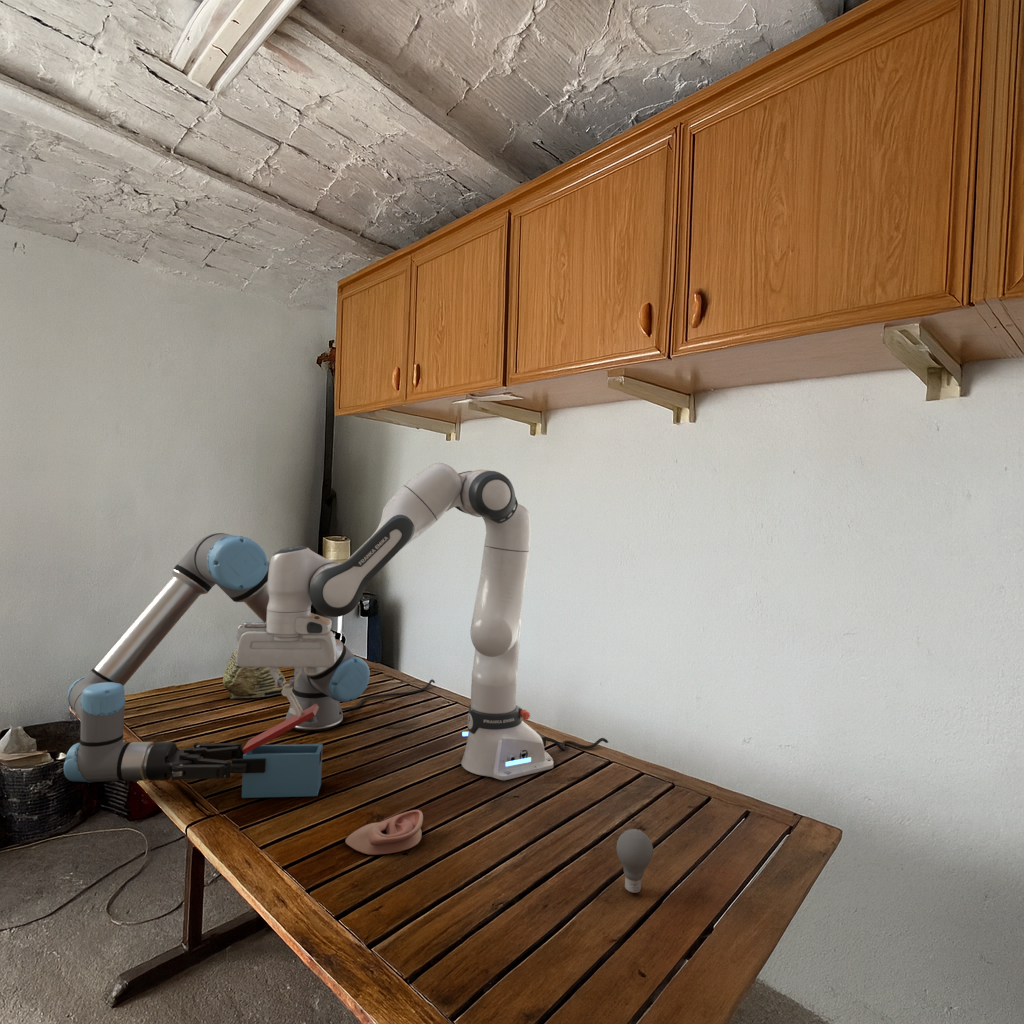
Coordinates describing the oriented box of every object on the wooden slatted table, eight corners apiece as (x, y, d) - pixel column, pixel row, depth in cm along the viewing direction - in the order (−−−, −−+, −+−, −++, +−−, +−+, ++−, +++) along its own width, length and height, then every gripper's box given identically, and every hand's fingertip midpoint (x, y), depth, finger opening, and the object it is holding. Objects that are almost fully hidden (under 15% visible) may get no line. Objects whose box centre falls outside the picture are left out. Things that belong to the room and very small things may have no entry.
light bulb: (610, 879, 108) (613, 822, 108) (644, 879, 109) (647, 822, 109) (619, 902, 102) (622, 840, 102) (655, 901, 103) (658, 840, 103)
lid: (319, 707, 139) (301, 675, 138) (315, 715, 134) (296, 682, 133) (251, 744, 137) (232, 712, 136) (244, 754, 132) (225, 721, 131)
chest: (321, 784, 139) (322, 744, 139) (317, 796, 134) (319, 753, 134) (248, 786, 137) (249, 745, 137) (241, 798, 132) (243, 755, 132)
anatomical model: (338, 827, 114) (365, 799, 125) (337, 849, 114) (364, 818, 125) (408, 839, 111) (429, 808, 122) (407, 861, 111) (428, 828, 122)
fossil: (218, 695, 195) (220, 647, 195) (278, 685, 208) (279, 640, 207) (228, 703, 189) (230, 653, 188) (289, 692, 201) (290, 645, 201)
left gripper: (168, 760, 141) (277, 759, 144) (131, 800, 123) (256, 797, 126) (169, 727, 141) (278, 726, 144) (132, 761, 122) (258, 759, 126)
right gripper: (232, 625, 130) (230, 691, 130) (335, 626, 133) (333, 691, 133) (241, 619, 136) (239, 682, 137) (338, 620, 139) (336, 682, 140)
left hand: (268, 759), depth 135 cm, fingers closed on chest, 5 cm apart
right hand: (286, 687), depth 135 cm, fingers closed
